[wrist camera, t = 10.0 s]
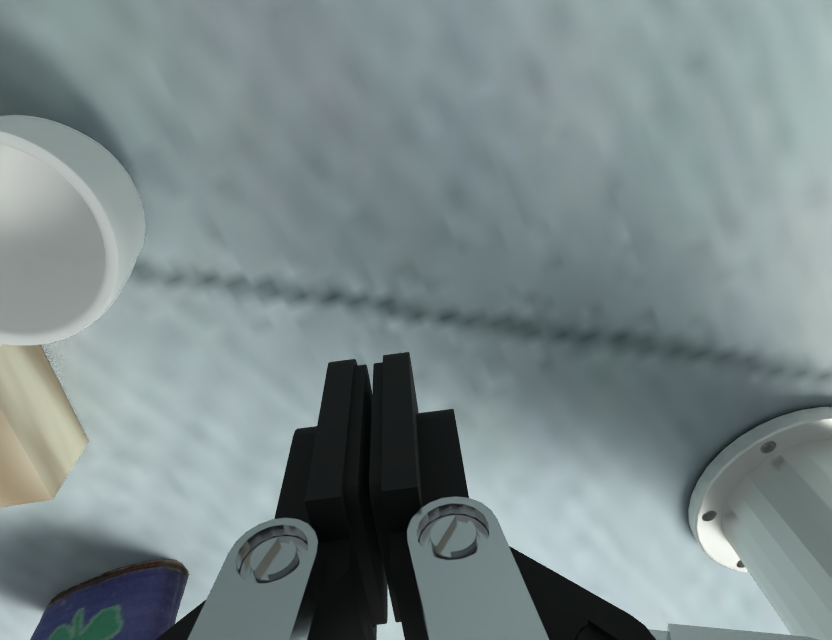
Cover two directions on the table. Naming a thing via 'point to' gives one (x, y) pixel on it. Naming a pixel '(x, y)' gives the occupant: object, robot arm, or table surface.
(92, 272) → the teacup
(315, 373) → the table surface
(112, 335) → the table surface
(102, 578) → the clover hip flask
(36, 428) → the wooden bar
